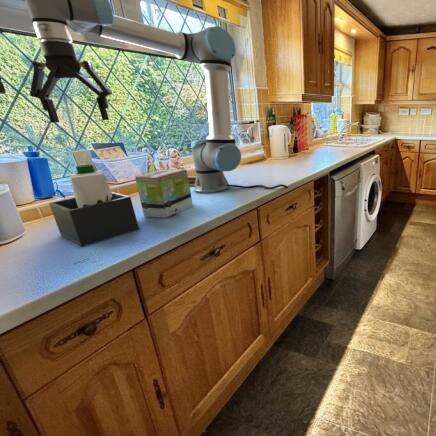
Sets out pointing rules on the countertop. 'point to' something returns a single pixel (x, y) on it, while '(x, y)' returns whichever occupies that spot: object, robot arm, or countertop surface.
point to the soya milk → (90, 186)
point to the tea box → (164, 192)
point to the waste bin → (94, 219)
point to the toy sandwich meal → (191, 180)
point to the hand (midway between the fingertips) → (81, 121)
